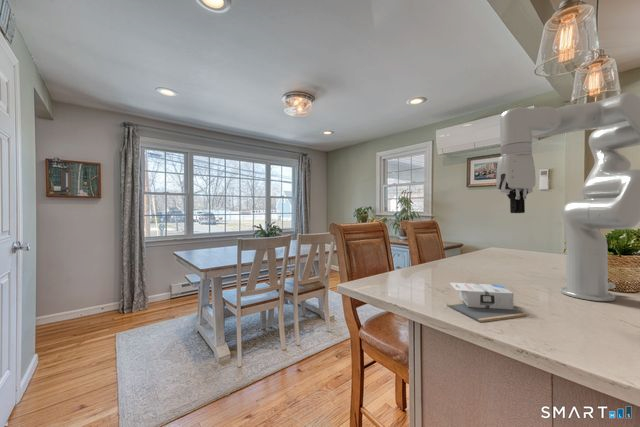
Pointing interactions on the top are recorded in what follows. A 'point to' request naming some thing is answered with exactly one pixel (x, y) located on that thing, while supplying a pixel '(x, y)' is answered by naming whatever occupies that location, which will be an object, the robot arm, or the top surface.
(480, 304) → the ink box
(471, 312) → the mat
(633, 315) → the top surface
